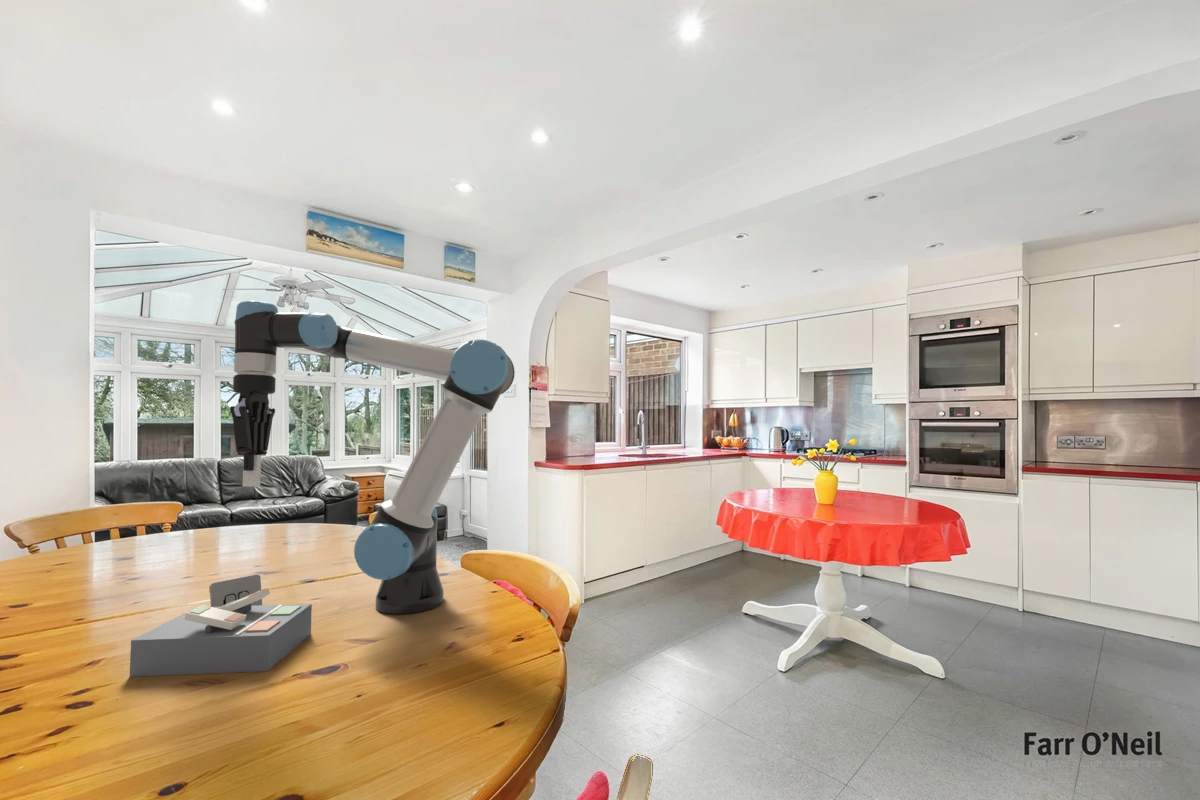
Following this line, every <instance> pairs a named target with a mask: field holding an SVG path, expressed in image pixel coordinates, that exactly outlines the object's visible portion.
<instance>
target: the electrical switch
mask: <svg viewBox="0 0 1200 800" xmlns="http://www.w3.org/2000/svg"><path fill="white" fill-rule="evenodd" d="M208 589H209V591H208V592H209V598H210V607H222V606H223V605H225V604H227V603H230V602H232V601H236V600H239V599H241V598H244V597H246V596H249V595H251V594H254V593H256V592H257V591H260V590H262V581H261V575H260V574H258V573H257V574H251V575H250V574H249V575H246V576H242V577H241V576H240V577H237V578H230V579H225V580H220V581H216V582H211V583H210V584H209V588H208ZM259 605H263V598H262V599H260V600H258V601H256V602H253V603H252V604H251V606H259Z"/></svg>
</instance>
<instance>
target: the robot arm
mask: <svg viewBox="0 0 1200 800" xmlns="http://www.w3.org/2000/svg"><path fill="white" fill-rule="evenodd" d="M234 335H235V336H234V357H233V360H232V361H233V368H234V369H233V371H234V372H235V373H237V374H235V375H234V376H233V379H232V381H233V383H232V385H233V386H232V391H233V392H234V393H236V394H239V396H238V399H237V401H238V402H237V403H238V404H237V405H235V406H234V405H232V406H230V408H229V411H230V414H231V417H232V422H233V424H232V425H233V430H234V432H233V433H234V442H235V450H236V453H237V455H238V456H243V458H242V459H243V464H242V465H243V466H242V487H246V488H247V487H260V486H261V474H262V473H261V471H262V470H261V467H262V455H267V453H268V449H269V443H270V439H271V438H270V437H271V429H272V424H273V418H274V417H275V413H276V409H275V408H273V407H272V408H271V407H270V405H269V404H270V400H269V395H272V394H275V393H276V378H275V376H273V375H275V374H277V351H278V348H279V349H280V348H282V349H283V348H286V349H287V348H290V349H291V348H294V349H295V348H296V349H305V350H308V351H312V352H315V353H318V354H322V355H325V356H327V357H331V358H335V359H344V360H349V361H353V362H359V363H363V364H368V365H371V366H377V367H381V368H387V369H391V370H395V371H399V372H400V371H401V372H404V373H408V374H409V373H410V374H414V375H418V376H423V377H429V378H434V379H437V380H443V381H444V383H443V385H442V387H441V389H442V392H443V395H444V399H443V402H442V403H441V405H440V407H439V409H438V411H437V413H436V415H435V417H434V418H433V421H432V422H431V425H430V426H429V428H428V431H427V432H426V434H425V436H424V438H423V439H422V442H421V444H420V445H419V448H418V449H417V452H415V453H416V454H415V456H414V457H413V459H412V461H411V463H410V465H409V466H408V469H407V471H406V472H405V475H404V477H402V480H401V482H400V484H399V486H398V488H397V489H396V492H395V494H394V495H393V497H392V498H390V499H388V500H385V501H383V502H382V503H381V505H380V506H379V508H378V510H377V512H376V514H375V516H374V518H373V520H372V522H371V523H370V525H369V526H366V527H365V529H363V530H362V531H361V533H360V534H359V535H358V536H357V538H356V540H355V544H354V547H353V555H354V559H355V561H356V564H357V567H358V569H360V570H361V571H362V572H363V573H364V574H365V575H366V576H368V577H370V578H372V579H374V580H378V581H379V580H380V584H379V586H378V589H377V590H378V591H377V593H376V595H375V609H376V610H377V611H378V612H381V613H384V614H392V615H395V614H396V615H402V614H403V615H405V614H406V613H407V614H413V613H412V612H415V613H420V612H424V610H425V611H429V610H431V609H433V608H434V609H435V608H436V607H438V606H440V605H441V604H443V602H444V597H445V596H444V588H443V584H442V582H441V579H440V575H439V571H438V569H437V552H438V551H437V550H438V548H437V546H438V544H437V543H438V520H439V517H438V511H437V510H438V509H437V508H436V505H437V504H438V501H439V499H440V498H441V496H442V493H443V491H444V489H445V488H446V486H447V484H448V482H449V480H450V477H452V474H453V472H454V470H455V468H456V466H457V464H458V463H459V461H460V459H461V456H462V454H463V453H464V451H465V449H466V447H467V444H468V443H469V441H470V439H471V437H472V435H473V433H474V431H475V429H476V428H477V426H478V423H479V421H480V419H481V418H482V416H483V415H487V414H489V413H491V412H492V411H493V409H494V407H495V405H496V404H497V402H498V400H499V398H500V396H501V395H502V394H504V393H505V392H507V391H508V390H509V389H510V387H511V386H512V385H513V383H514V380H515V373H516V372H515V367H514V363H513V361H512V359H511V357H509V356H508V354H507V353H506V351H505V350H504V349H503V348H502V347H501V346H499V345H498V344H497V343H495V342H492V341H490V340H486V339H482V338H481V339H478V338H477V339H473V340H468V341H466V342H464V343H463V344H461V345H460V346H458V348H456V349H449V348H445V347H439V346H434V345H430V344H425V343H421V342H417V341H412V340H411V341H410V340H407V339H401V338H397V337H393V336H388V335H384V334H379V333H378V334H377V333H375V332H368V331H364V330H360V329H354V328H352V327H346V326H342V325H337V322H336V320H335V319H334V317H333V316H332V315H330V314H329V313H321V312H316V311H311V312H279V311H278V307H277V305H275V304H273V303H270V302H265V301H257V300H243V301H240V302H239V303H238V304H237V305H236V312H235V319H234ZM439 604H440V605H439ZM419 611H420V612H419ZM404 613H405V614H404Z"/></svg>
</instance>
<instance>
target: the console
mask: <svg viewBox="0 0 1200 800" xmlns="http://www.w3.org/2000/svg"><path fill="white" fill-rule="evenodd" d="M251 604H252V603H251ZM251 604H248V605H246V606H243V607H241V608H238V609H236V610H233V611H231V612H236V613H240V614H245V615H246V619H245V622H243V623H241V624H240V625H238V626H237V627H235V628H234V629H232V630H229V629H224V628H220V627H215V626H211V625H206V624H202V623H197V622H193V621H188V620H184V619H185V616H186V613H187V612H189V611H191V610H193V609H195V608H197V607H198V606H197V607H194V608H192V609H190V610H188V611H185V612H184V613H182V614H180V615H178V616H176V617H174V618H173V619H170V620H169V621H167V622H164V623H163V624H161V625H158V626H157V627H155V628H152V629H151V630H149V631H146V632H144V633H143V634H140V635H138V636H136V637H135V638H133V639H131V641H130V655H129V656H130V657H129V658H130V659H129V660H130V661H129V677H130V678H134V677H136V678H137V677H159V676H180V675H181V676H183V675H185V676H186V675H204V674H205V675H206V674H209V675H210V674H225V673H226V674H230V673H231V674H232V673H255V672H256V673H257V672H269V671H270V669H272V668H274V667H275V666H276V665H277V663H279V662H280V661H282V659H284V658H285V657H286V656H287V655H289V654H290V653H291V652H292V651H293V650H294V649H296V648H297V647H298V646H299V645H301V643H302V642H303V641H305V640H306V639H307V638H308V637H309V636H310V635H312V605H313V604H312V603H298V604H264V605H263V604H262V605H259V606H251ZM214 608H220V607H214Z"/></svg>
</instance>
